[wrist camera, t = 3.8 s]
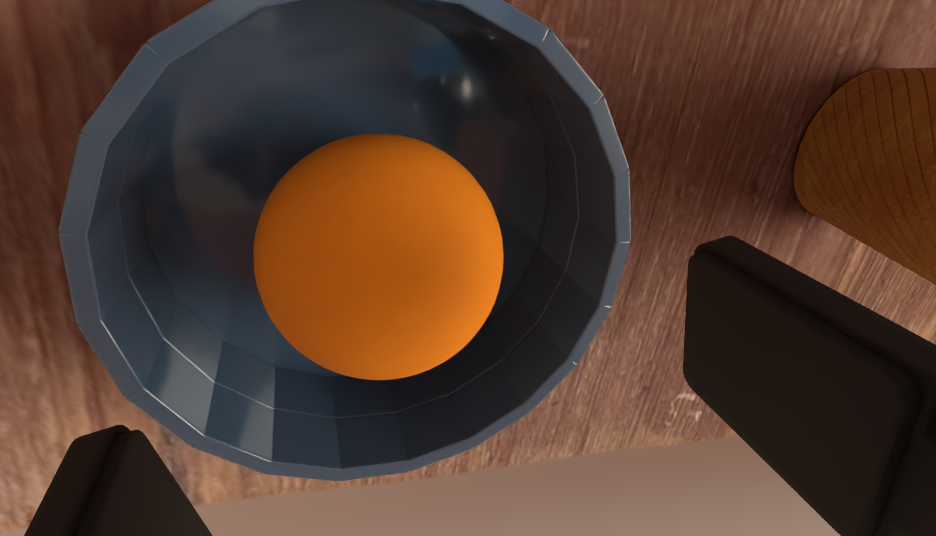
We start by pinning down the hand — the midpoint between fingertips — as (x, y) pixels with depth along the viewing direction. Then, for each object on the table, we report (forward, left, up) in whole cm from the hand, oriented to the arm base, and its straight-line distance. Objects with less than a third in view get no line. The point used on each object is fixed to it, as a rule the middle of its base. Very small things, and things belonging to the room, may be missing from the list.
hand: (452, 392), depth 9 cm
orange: (0, 0, -6) cm, 6 cm away
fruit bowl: (0, 0, -10) cm, 10 cm away
